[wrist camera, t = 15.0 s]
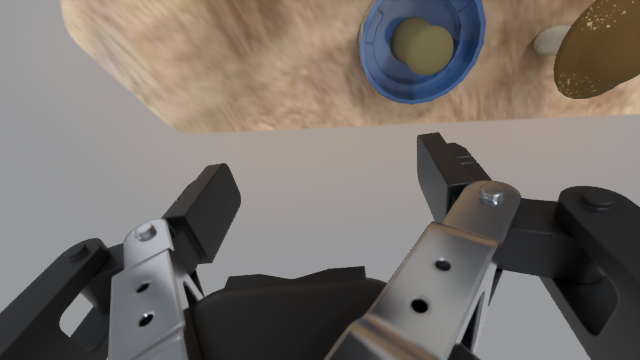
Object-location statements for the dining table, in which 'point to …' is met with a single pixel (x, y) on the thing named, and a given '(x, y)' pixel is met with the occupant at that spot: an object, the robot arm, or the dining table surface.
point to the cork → (421, 45)
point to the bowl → (396, 77)
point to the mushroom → (595, 48)
